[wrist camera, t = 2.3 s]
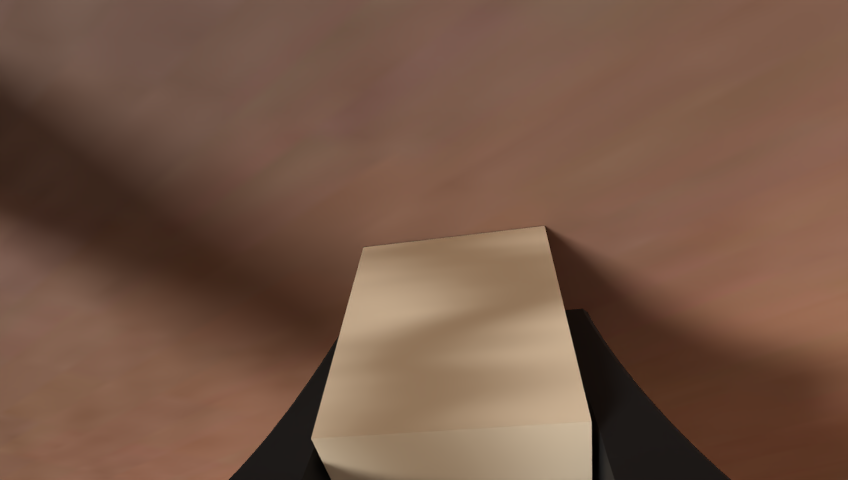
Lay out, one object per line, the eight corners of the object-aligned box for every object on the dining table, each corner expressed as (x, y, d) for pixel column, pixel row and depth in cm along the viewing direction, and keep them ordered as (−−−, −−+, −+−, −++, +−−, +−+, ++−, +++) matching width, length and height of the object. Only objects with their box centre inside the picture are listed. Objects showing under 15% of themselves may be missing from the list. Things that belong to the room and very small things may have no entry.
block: (544, 226, 12) (591, 421, 8) (553, 356, 15) (592, 563, 10) (363, 247, 13) (310, 438, 9) (400, 369, 16) (374, 567, 11)
